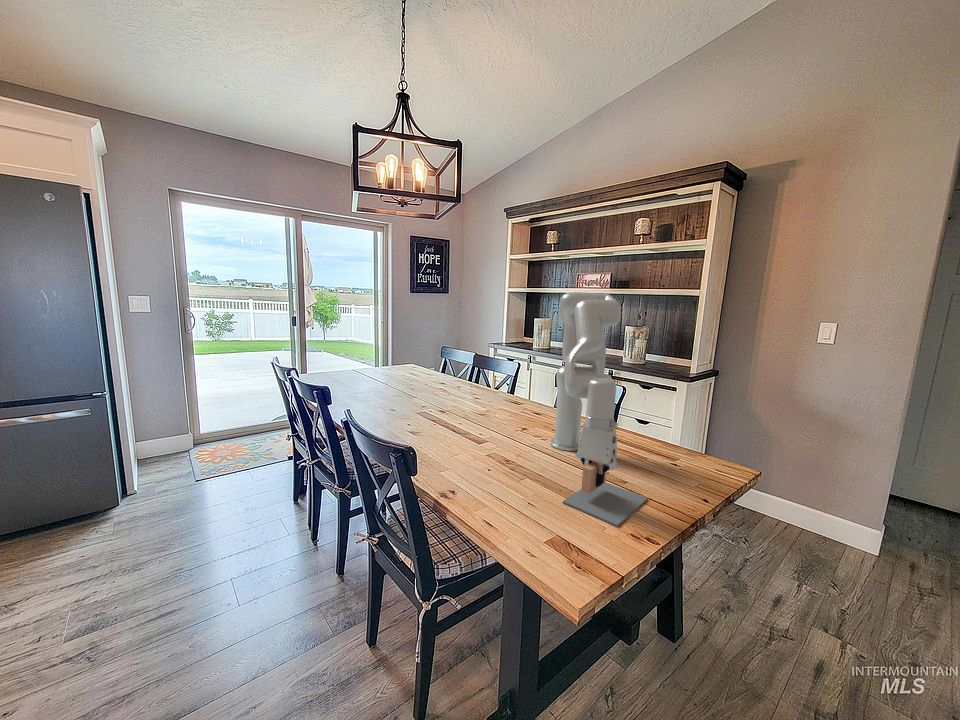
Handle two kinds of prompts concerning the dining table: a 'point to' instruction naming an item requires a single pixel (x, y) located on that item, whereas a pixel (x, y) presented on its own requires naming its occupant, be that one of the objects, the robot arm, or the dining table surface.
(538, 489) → the dining table surface
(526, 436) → the dining table surface
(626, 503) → the rubber mat
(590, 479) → the terracotta tile
